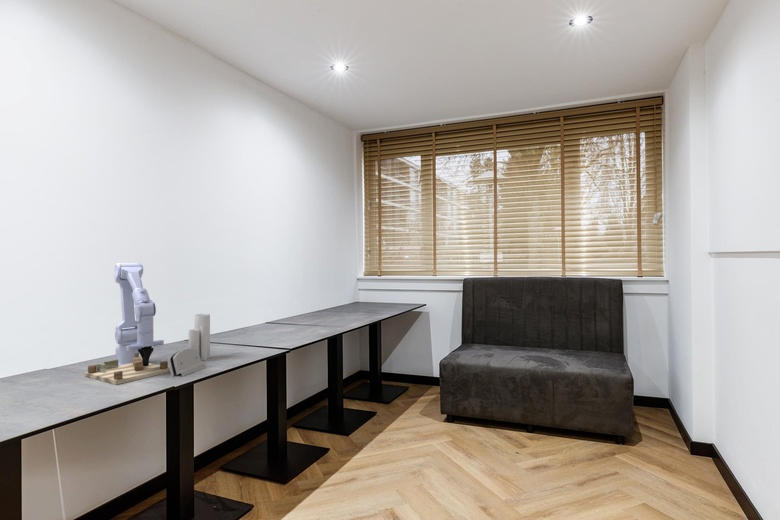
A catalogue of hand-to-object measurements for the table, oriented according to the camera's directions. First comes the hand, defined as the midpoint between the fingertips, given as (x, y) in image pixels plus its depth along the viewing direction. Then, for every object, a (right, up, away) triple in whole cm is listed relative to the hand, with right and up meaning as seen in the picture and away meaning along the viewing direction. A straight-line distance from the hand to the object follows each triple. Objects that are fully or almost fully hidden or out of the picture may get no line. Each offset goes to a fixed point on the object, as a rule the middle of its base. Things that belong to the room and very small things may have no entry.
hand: (145, 365), depth 182 cm
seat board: (-5, -3, -3) cm, 6 cm away
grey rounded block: (+16, -3, +2) cm, 16 cm away
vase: (+13, -3, +23) cm, 26 cm away
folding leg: (-4, -1, +1) cm, 4 cm away
